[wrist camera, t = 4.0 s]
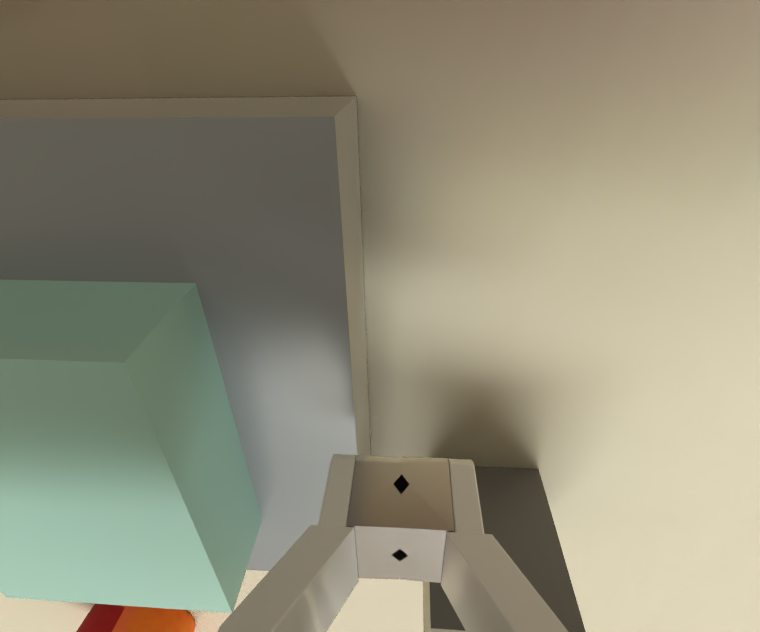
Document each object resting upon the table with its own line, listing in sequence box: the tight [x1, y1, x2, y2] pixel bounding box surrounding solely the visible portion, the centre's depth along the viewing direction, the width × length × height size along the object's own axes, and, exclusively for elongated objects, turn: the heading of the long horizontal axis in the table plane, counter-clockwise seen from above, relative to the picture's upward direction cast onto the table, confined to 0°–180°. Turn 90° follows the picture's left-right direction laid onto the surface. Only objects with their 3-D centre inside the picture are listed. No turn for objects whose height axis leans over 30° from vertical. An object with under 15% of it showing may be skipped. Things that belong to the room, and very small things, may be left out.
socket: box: [0, 96, 371, 571], centre depth 12 cm, size 15×14×3 cm
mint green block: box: [0, 280, 262, 613], centre depth 10 cm, size 6×8×2 cm
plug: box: [423, 466, 585, 632], centre depth 14 cm, size 4×4×6 cm
